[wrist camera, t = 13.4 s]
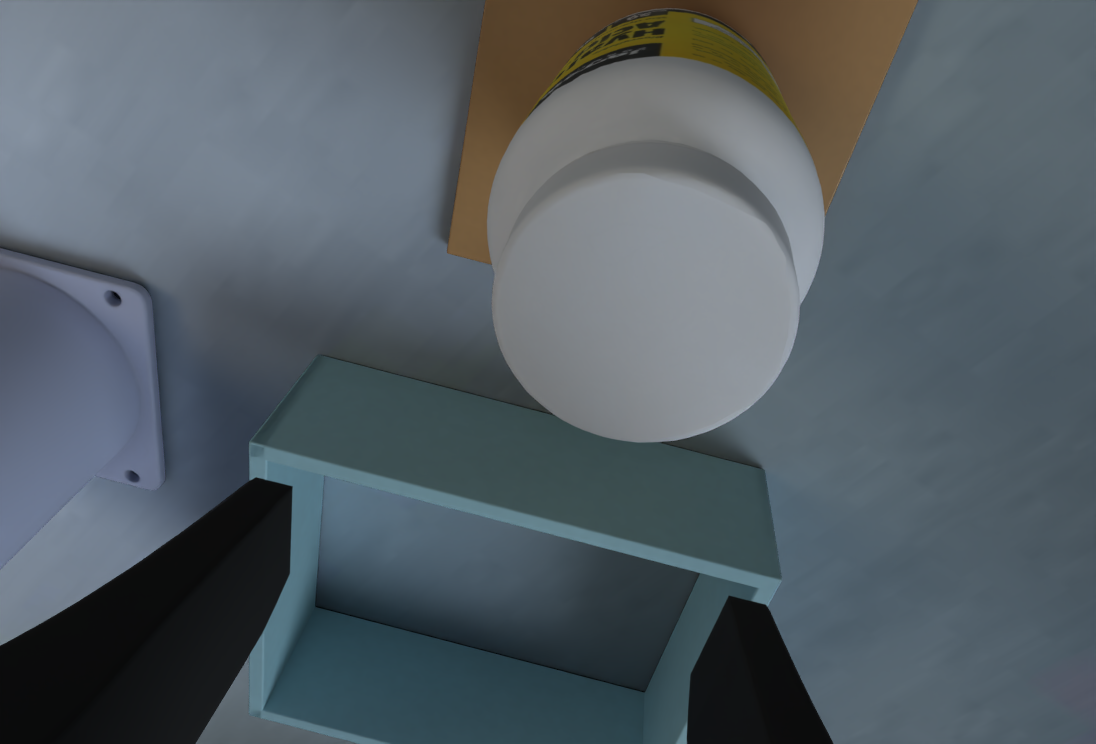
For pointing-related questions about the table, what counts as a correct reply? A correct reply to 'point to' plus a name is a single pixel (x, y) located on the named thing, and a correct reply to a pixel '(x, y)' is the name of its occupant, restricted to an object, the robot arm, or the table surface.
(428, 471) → the container
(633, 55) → the supplement bottle
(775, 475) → the table surface
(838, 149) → the coaster
